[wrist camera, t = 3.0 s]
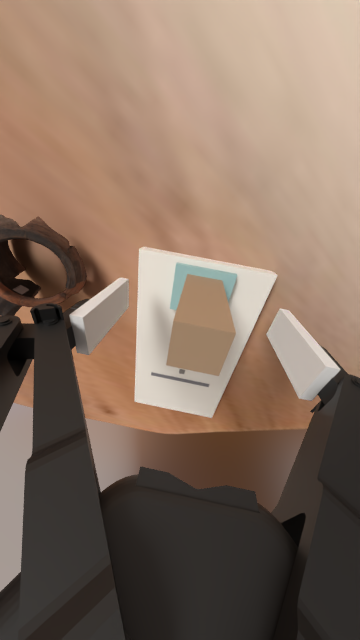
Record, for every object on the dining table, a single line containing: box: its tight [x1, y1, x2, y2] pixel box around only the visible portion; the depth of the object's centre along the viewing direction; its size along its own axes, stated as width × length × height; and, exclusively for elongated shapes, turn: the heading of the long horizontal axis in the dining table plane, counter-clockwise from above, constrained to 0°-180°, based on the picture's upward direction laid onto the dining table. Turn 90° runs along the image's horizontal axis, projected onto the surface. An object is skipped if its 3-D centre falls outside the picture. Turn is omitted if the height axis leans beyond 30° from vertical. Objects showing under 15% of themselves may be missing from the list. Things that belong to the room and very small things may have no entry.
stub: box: [166, 262, 237, 376], centre depth 15 cm, size 6×5×10 cm
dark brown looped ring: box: [0, 215, 87, 316], centre depth 19 cm, size 12×10×8 cm
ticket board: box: [135, 247, 277, 418], centre depth 25 cm, size 14×26×2 cm, turn 171°
